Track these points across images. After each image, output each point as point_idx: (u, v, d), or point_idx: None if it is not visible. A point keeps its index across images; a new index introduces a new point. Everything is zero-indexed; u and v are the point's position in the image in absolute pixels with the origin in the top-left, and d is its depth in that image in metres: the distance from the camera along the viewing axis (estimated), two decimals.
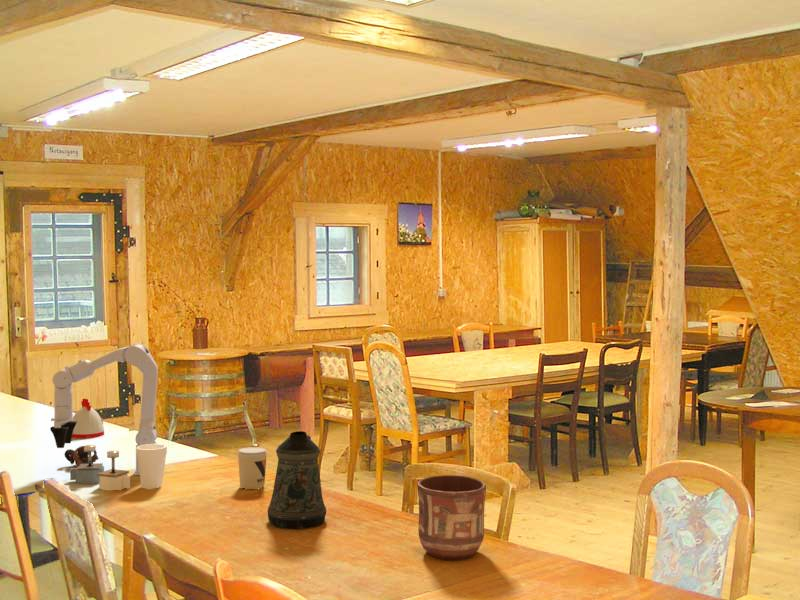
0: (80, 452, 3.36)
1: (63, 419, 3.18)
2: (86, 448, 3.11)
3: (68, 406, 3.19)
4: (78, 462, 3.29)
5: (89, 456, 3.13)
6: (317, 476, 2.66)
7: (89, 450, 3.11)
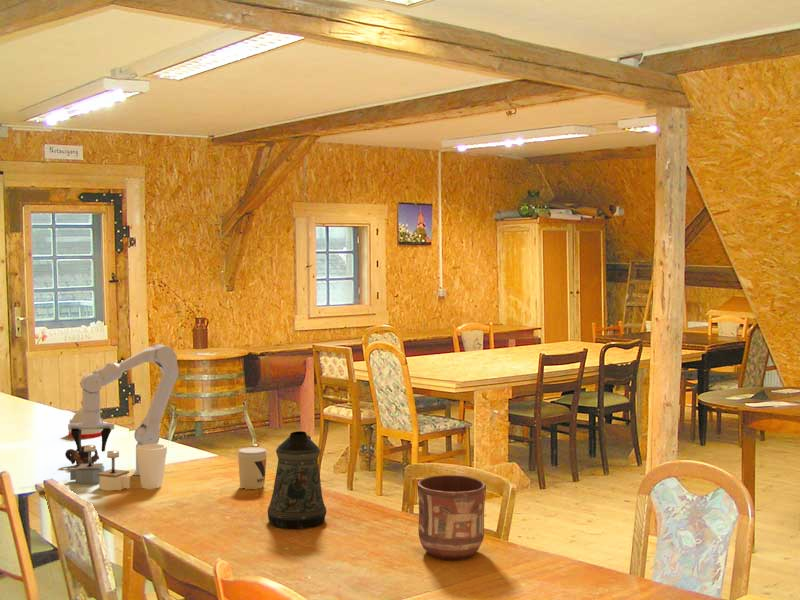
0: (81, 452, 3.37)
1: (82, 423, 3.15)
2: (86, 448, 3.11)
3: (84, 411, 3.13)
4: (79, 462, 3.30)
5: (89, 456, 3.13)
6: (317, 476, 2.66)
7: (89, 450, 3.11)
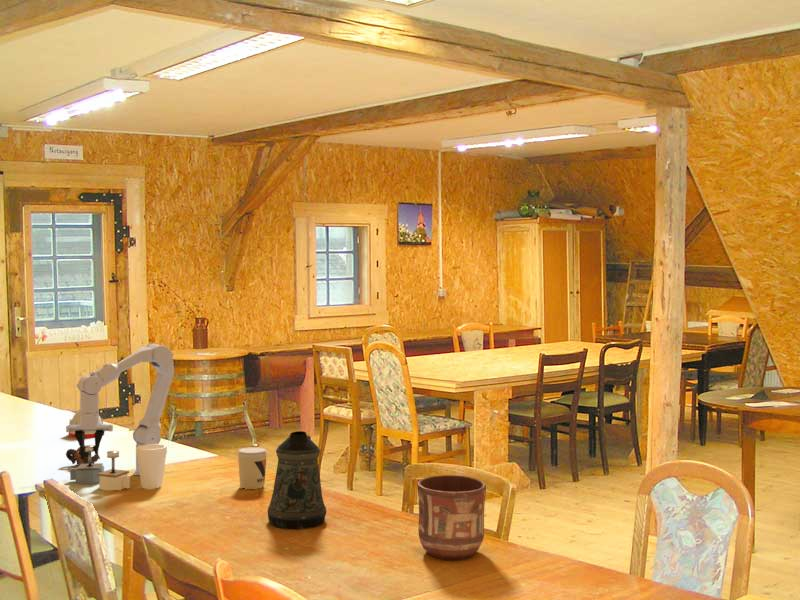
0: None
1: (80, 425, 3.11)
2: (86, 448, 3.11)
3: (82, 413, 3.10)
4: (80, 462, 3.30)
5: (89, 456, 3.13)
6: (317, 476, 2.66)
7: (89, 450, 3.11)
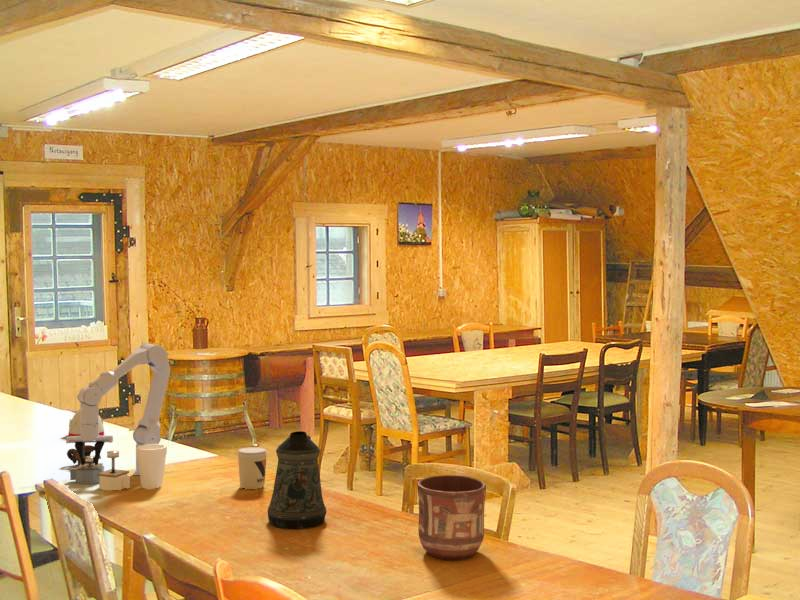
0: None
1: (80, 436, 3.11)
2: (86, 459, 3.11)
3: (82, 424, 3.10)
4: None
5: None
6: (317, 476, 2.66)
7: (89, 461, 3.11)
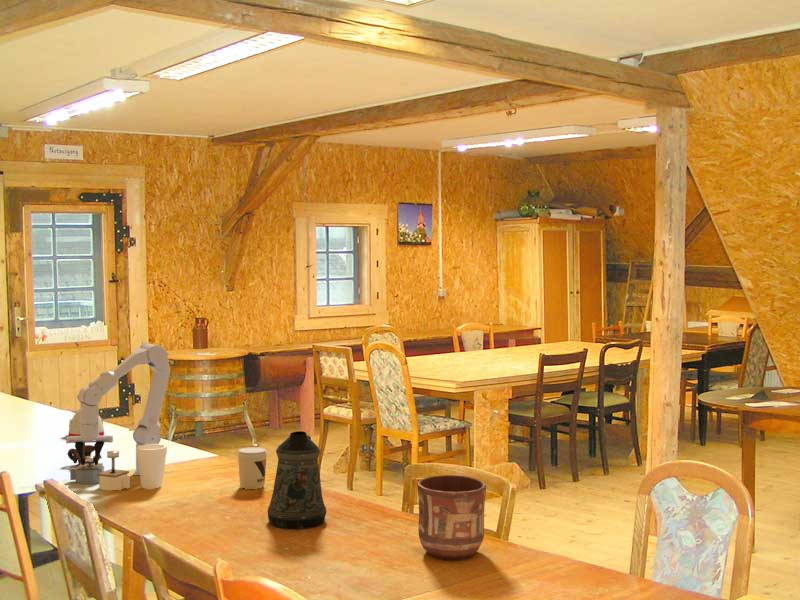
0: None
1: (80, 436, 3.11)
2: (86, 459, 3.11)
3: (82, 424, 3.10)
4: None
5: None
6: (317, 476, 2.66)
7: (89, 461, 3.11)
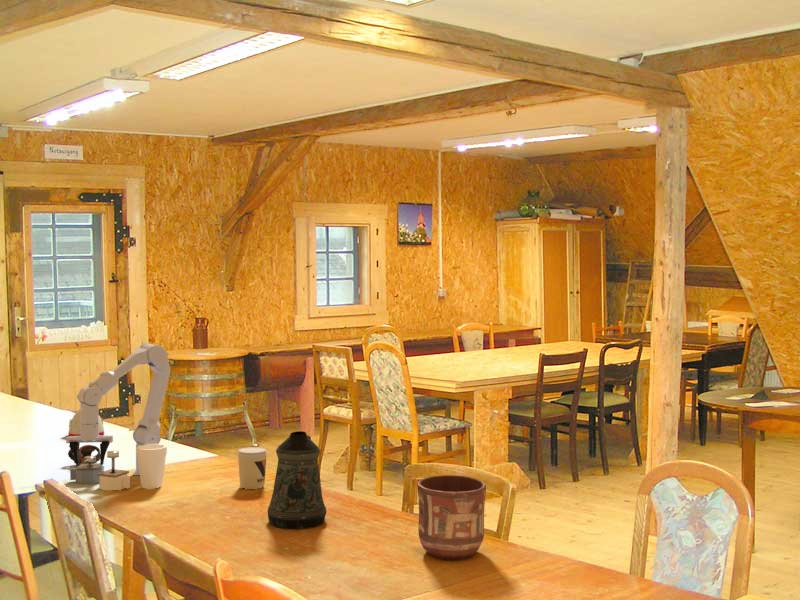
0: (83, 451, 3.38)
1: (80, 436, 3.11)
2: (86, 459, 3.11)
3: (82, 424, 3.10)
4: (82, 461, 3.31)
5: None
6: (317, 476, 2.66)
7: (89, 461, 3.11)
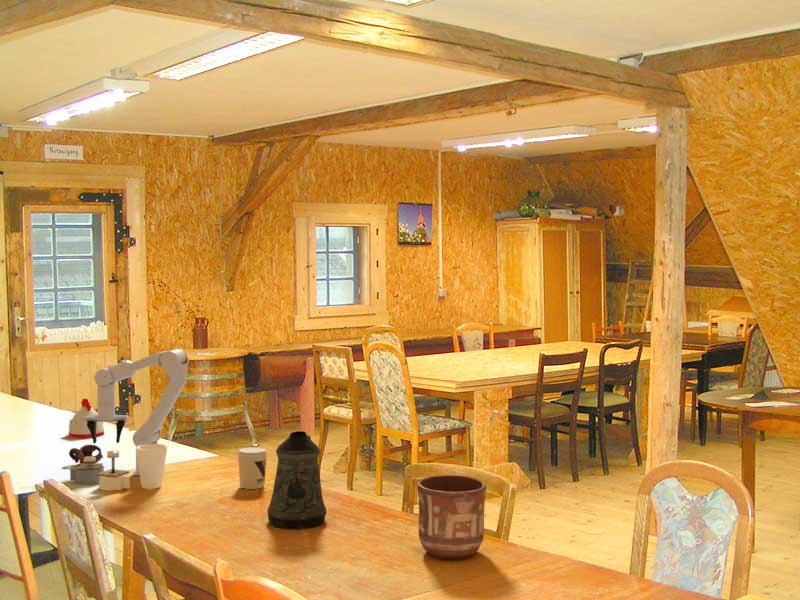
0: (84, 451, 3.39)
1: (97, 416, 3.25)
2: (86, 459, 3.11)
3: (99, 404, 3.24)
4: (83, 461, 3.32)
5: None
6: (317, 476, 2.66)
7: (89, 461, 3.11)
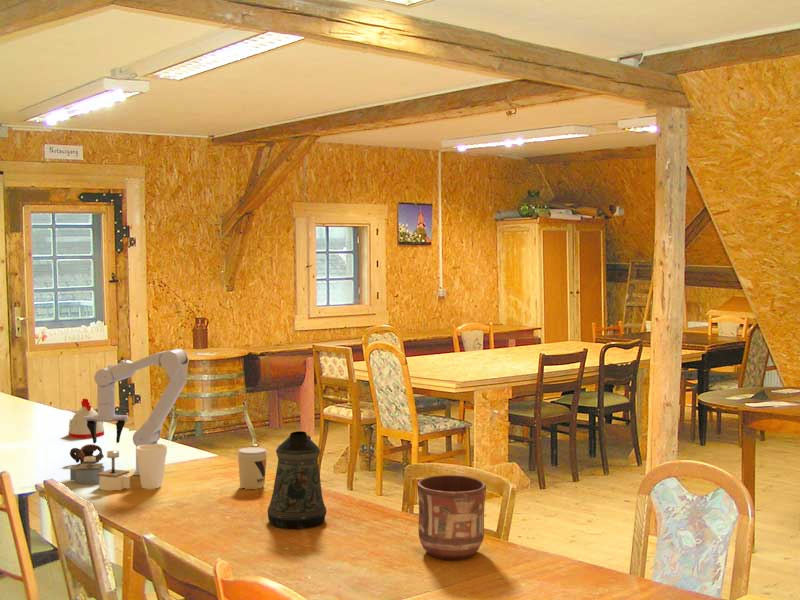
0: (85, 450, 3.39)
1: (97, 416, 3.25)
2: (86, 459, 3.11)
3: (99, 404, 3.24)
4: None
5: None
6: (317, 476, 2.66)
7: (89, 461, 3.11)
